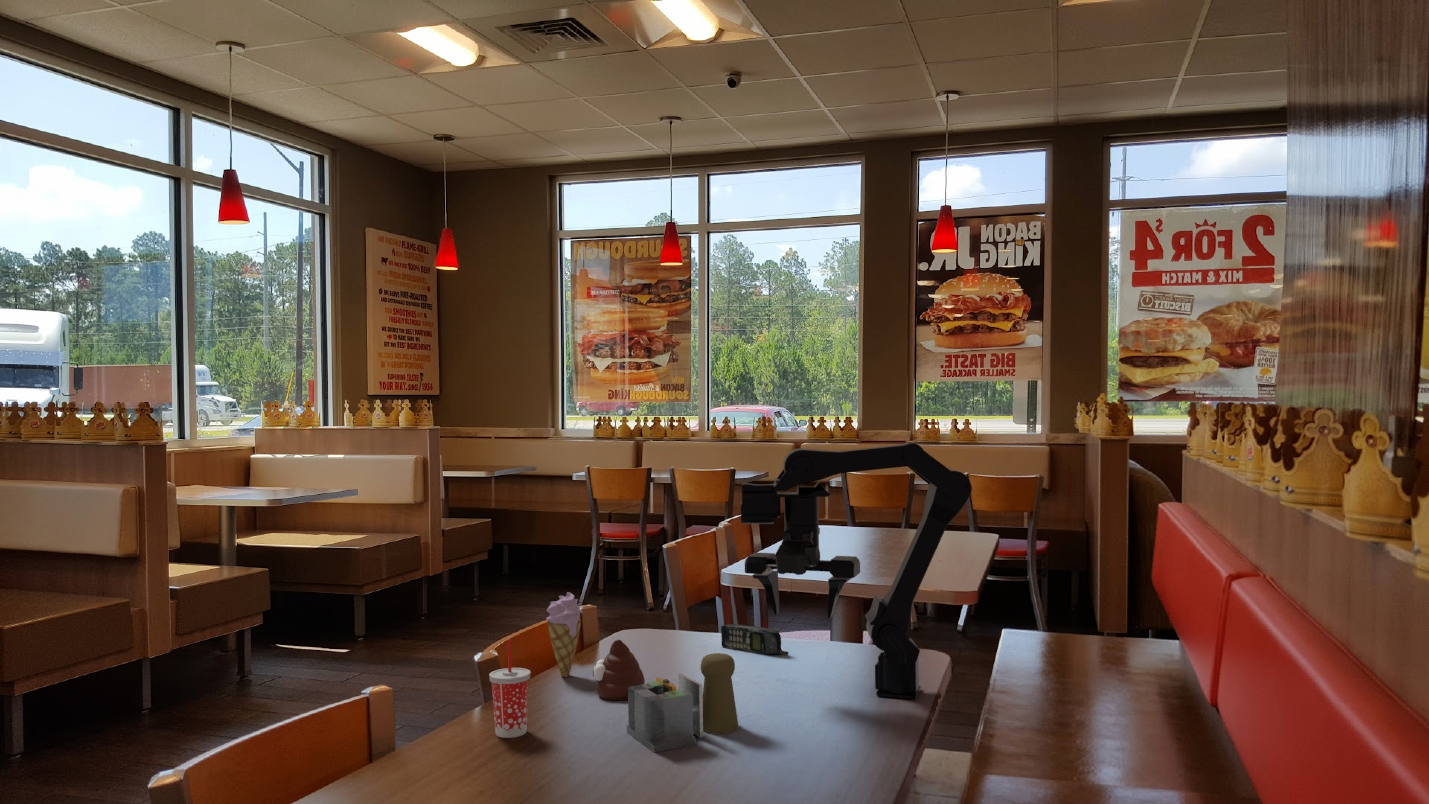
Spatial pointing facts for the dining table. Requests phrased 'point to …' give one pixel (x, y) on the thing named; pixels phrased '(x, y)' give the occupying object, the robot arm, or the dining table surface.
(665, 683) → the plunger
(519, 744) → the dining table surface
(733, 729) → the cork
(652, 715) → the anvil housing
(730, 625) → the mobile phone
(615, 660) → the poop emoji
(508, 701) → the beverage cup
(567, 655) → the ice cream cone
